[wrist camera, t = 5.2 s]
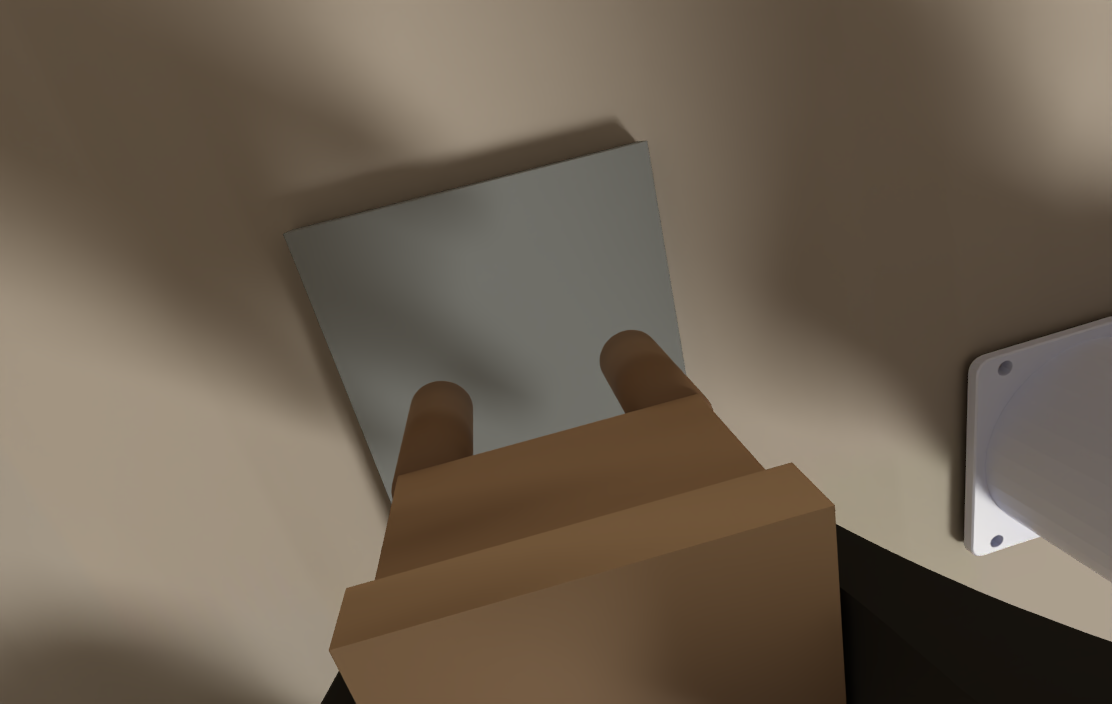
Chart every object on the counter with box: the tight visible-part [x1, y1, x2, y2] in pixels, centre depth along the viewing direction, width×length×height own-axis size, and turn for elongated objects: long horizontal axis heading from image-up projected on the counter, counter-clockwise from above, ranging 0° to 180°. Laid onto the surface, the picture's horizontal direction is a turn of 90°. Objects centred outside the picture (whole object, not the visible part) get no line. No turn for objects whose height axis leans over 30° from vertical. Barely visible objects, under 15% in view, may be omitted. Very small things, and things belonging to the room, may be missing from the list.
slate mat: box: [283, 141, 686, 504], centre depth 16 cm, size 9×12×1 cm
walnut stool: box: [329, 330, 846, 704], centre depth 9 cm, size 6×5×6 cm
